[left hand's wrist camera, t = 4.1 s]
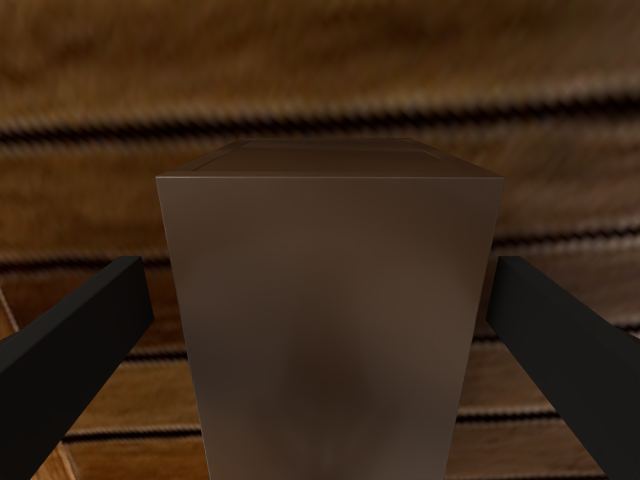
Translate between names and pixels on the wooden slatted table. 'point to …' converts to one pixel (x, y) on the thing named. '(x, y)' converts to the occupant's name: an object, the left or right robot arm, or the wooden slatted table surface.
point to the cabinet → (328, 302)
